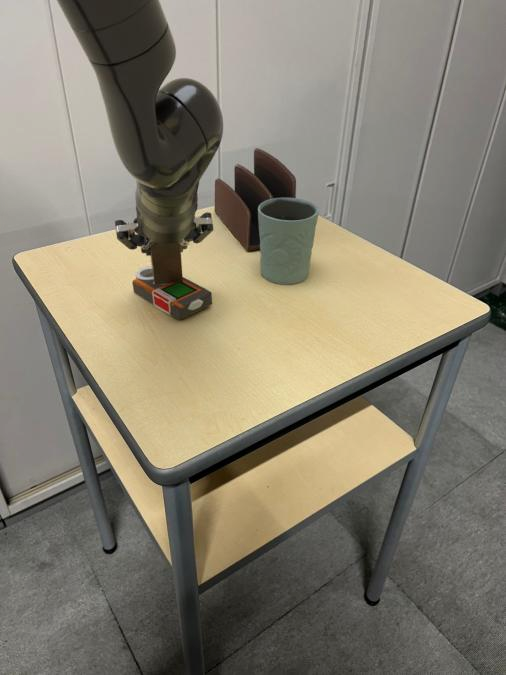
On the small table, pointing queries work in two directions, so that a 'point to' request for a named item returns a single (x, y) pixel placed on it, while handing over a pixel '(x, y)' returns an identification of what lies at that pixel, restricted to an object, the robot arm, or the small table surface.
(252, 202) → the letter holder
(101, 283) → the small table surface
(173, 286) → the electronic device
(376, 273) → the small table surface
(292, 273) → the green cup
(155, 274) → the walnut block
